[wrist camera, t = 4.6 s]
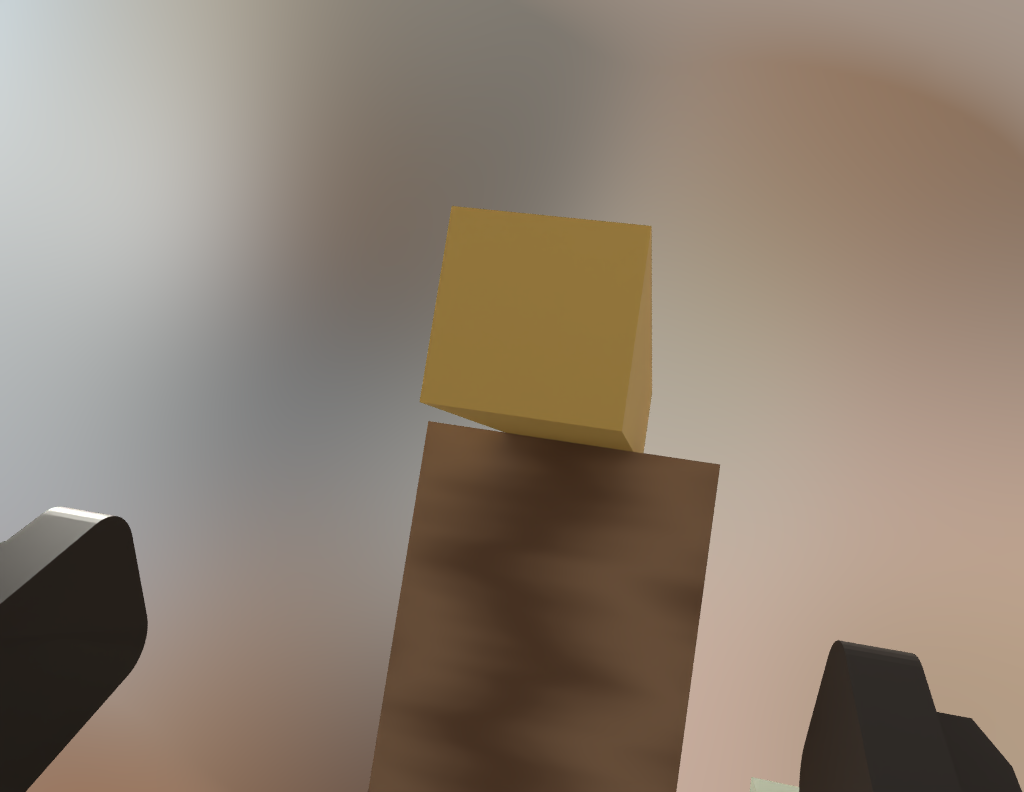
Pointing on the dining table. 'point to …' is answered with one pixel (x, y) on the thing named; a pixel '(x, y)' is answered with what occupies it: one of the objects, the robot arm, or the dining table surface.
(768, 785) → the pale green tall block
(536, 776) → the stand
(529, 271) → the bar
